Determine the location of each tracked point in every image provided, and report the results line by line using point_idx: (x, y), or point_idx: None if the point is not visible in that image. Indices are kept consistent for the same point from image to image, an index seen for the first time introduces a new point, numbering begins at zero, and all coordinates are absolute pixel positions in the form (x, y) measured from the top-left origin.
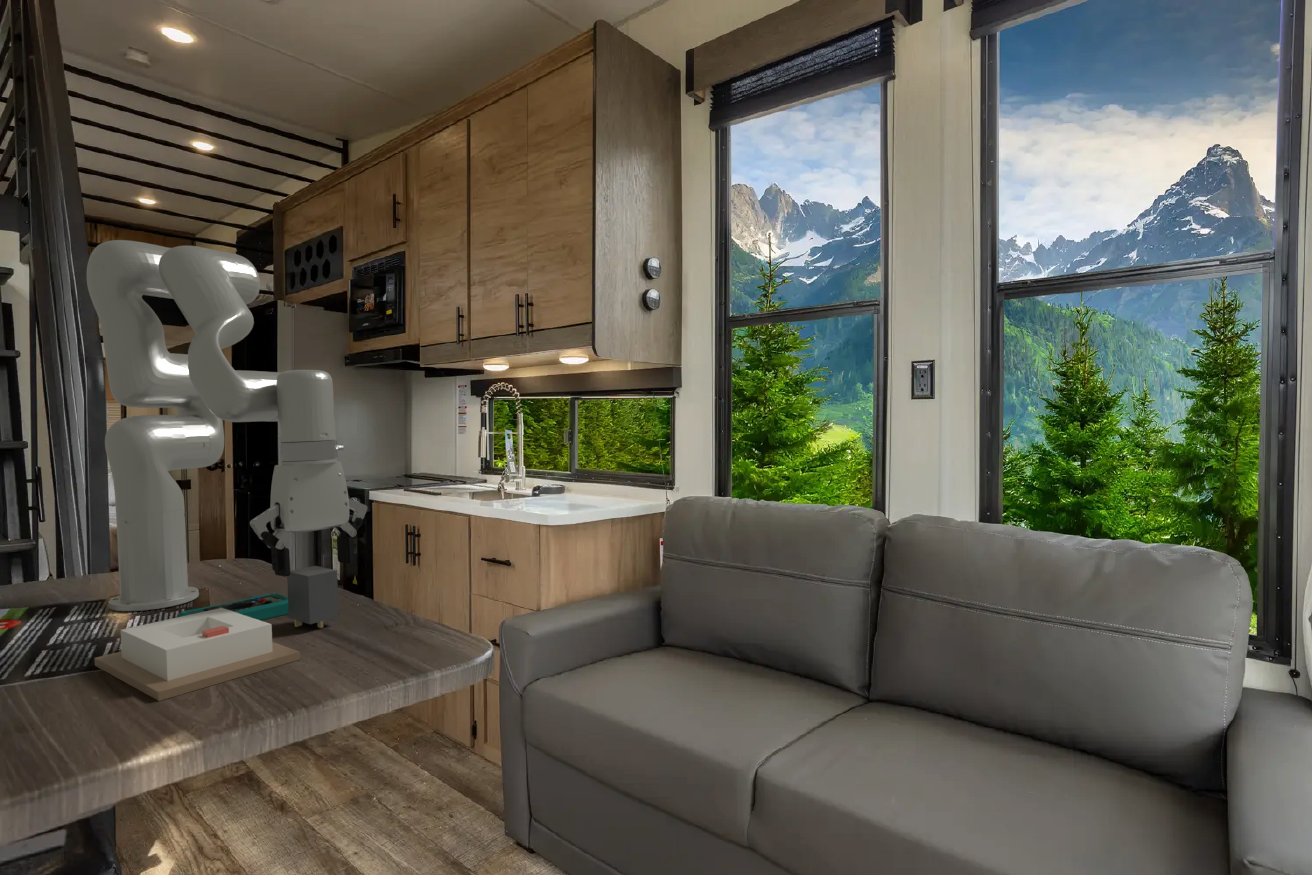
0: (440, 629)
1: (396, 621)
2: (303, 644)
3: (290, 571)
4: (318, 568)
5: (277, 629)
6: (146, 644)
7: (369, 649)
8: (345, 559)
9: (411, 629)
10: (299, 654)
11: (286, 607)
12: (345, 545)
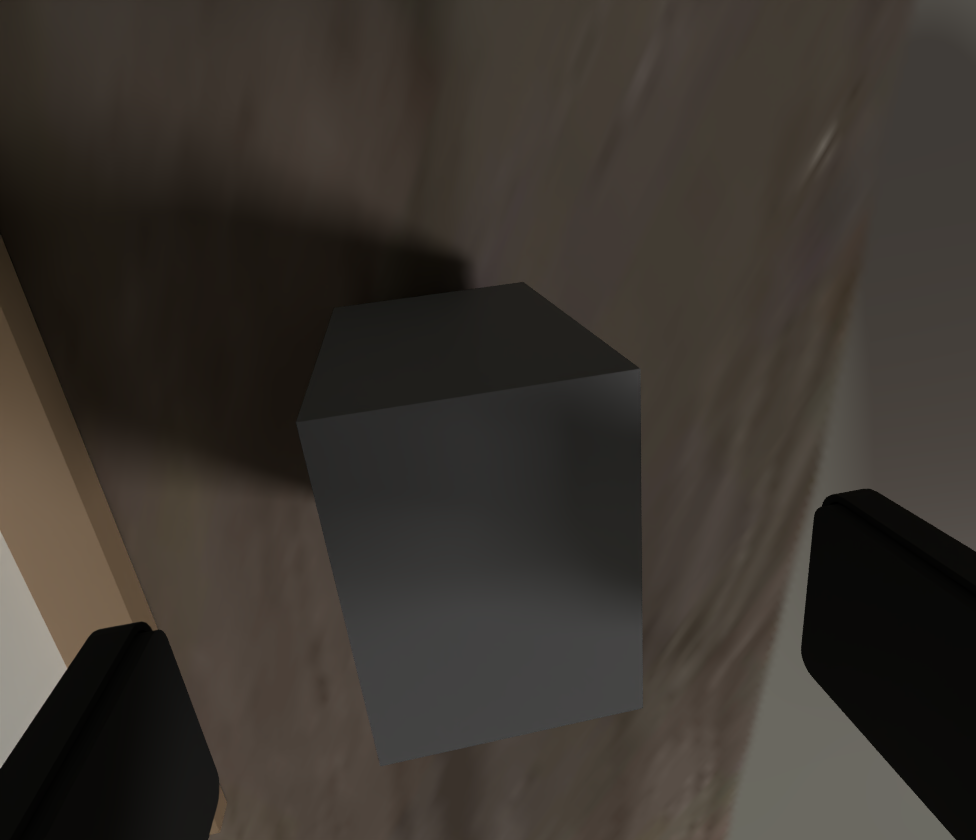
0: (731, 777)
1: (713, 601)
2: (294, 651)
3: (322, 466)
4: (588, 527)
5: (262, 322)
6: None
7: (458, 828)
8: (824, 646)
9: (677, 724)
10: (220, 821)
11: None
12: (948, 792)
